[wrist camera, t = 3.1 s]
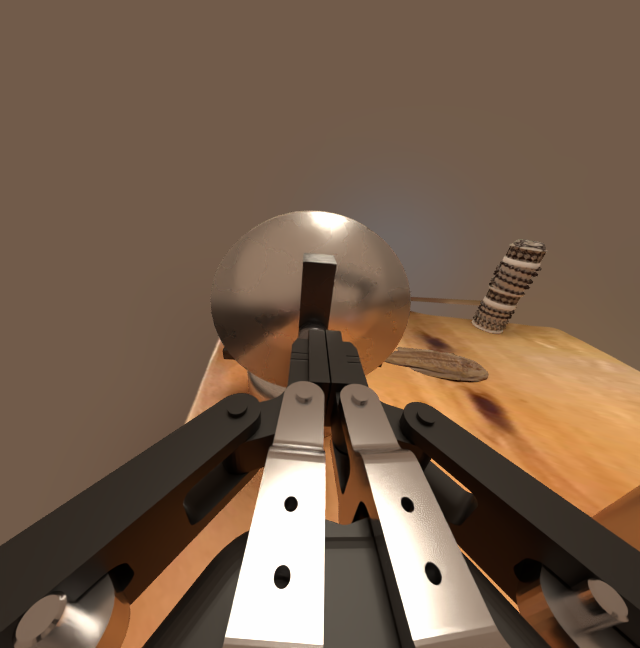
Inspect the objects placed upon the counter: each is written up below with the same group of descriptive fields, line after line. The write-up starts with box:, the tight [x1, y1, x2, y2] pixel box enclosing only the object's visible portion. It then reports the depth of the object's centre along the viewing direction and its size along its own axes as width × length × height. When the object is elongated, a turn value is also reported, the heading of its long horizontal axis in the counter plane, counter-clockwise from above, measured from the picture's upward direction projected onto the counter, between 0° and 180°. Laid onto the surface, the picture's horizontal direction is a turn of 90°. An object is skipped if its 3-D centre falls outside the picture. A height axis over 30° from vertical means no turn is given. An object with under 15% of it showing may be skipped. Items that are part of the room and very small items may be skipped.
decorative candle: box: [472, 239, 548, 334], centre depth 66 cm, size 9×9×25 cm
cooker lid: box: [211, 211, 411, 388], centre depth 21 cm, size 18×18×5 cm
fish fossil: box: [384, 347, 488, 382], centre depth 54 cm, size 26×10×1 cm, turn 86°
